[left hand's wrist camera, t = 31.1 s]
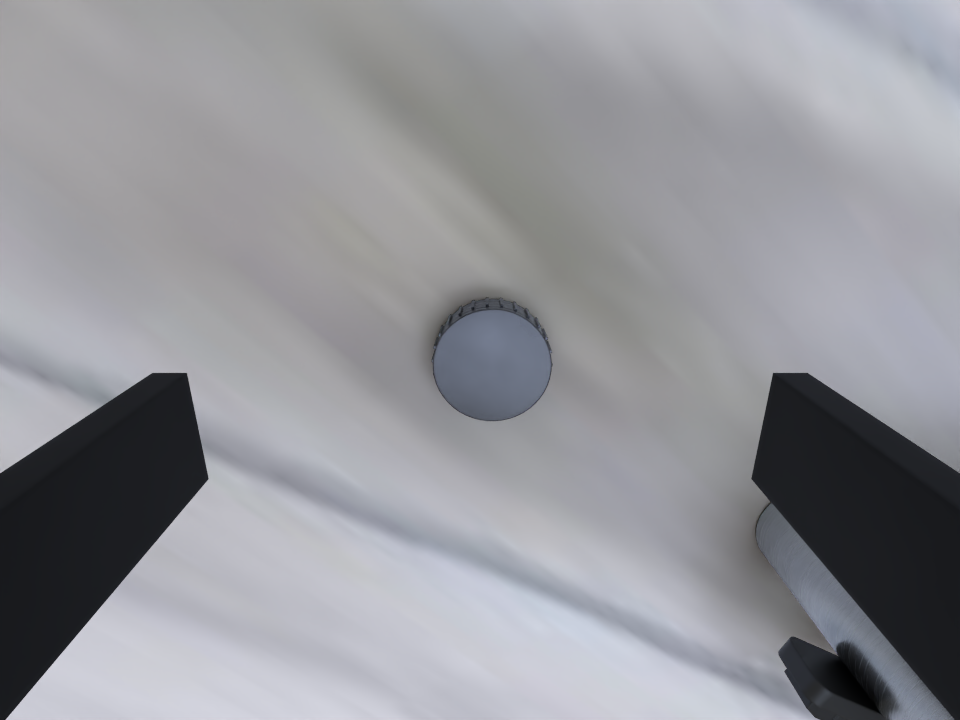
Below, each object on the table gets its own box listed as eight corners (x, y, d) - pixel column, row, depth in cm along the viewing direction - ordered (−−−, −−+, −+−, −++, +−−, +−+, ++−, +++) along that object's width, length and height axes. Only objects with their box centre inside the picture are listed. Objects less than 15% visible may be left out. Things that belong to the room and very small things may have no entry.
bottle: (831, 472, 23) (1465, 1010, 8) (860, 542, 24) (1469, 1130, 9) (741, 512, 24) (1172, 1076, 9) (774, 578, 25) (1208, 1182, 10)
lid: (415, 326, 21) (408, 339, 20) (519, 277, 21) (522, 285, 19) (465, 421, 22) (464, 441, 21) (566, 377, 22) (572, 394, 20)
